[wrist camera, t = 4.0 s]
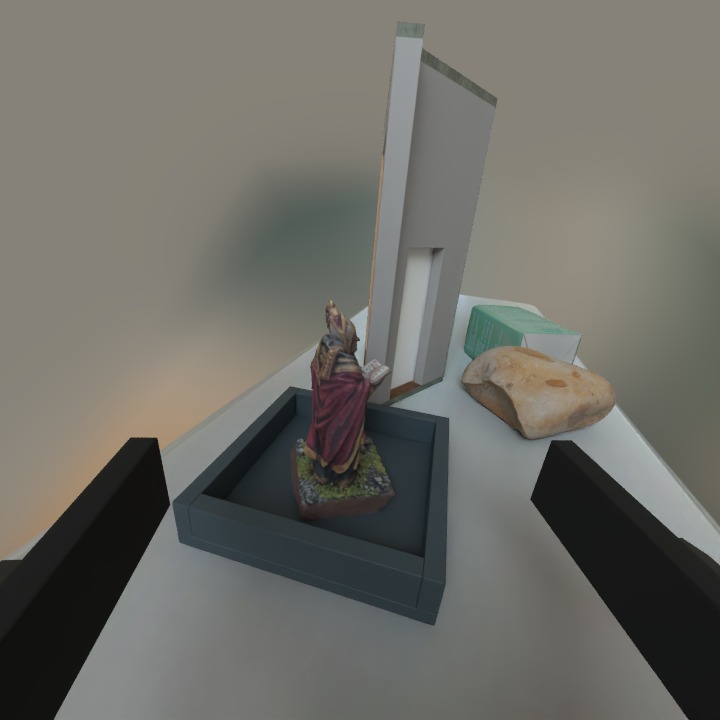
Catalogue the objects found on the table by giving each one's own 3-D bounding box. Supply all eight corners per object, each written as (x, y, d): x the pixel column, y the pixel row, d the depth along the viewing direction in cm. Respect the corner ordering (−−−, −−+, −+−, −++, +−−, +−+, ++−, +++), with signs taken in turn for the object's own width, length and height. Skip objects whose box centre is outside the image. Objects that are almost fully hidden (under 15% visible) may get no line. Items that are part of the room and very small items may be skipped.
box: (506, 351, 52) (518, 304, 49) (564, 394, 40) (586, 334, 37) (461, 350, 51) (471, 302, 48) (507, 393, 39) (524, 332, 36)
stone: (592, 385, 37) (639, 349, 30) (583, 479, 33) (635, 463, 25) (468, 350, 40) (483, 311, 33) (445, 431, 36) (457, 406, 29)
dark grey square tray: (179, 542, 18) (171, 502, 17) (290, 414, 31) (290, 385, 30) (434, 626, 16) (445, 584, 14) (442, 447, 28) (449, 417, 27)
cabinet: (365, 345, 50) (385, 120, 39) (429, 350, 50) (467, 127, 39) (360, 424, 30) (397, 21, 19) (465, 433, 30) (562, 35, 19)
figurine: (294, 524, 19) (294, 326, 14) (290, 451, 25) (288, 292, 20) (399, 510, 21) (430, 327, 16) (371, 444, 26) (388, 295, 22)
